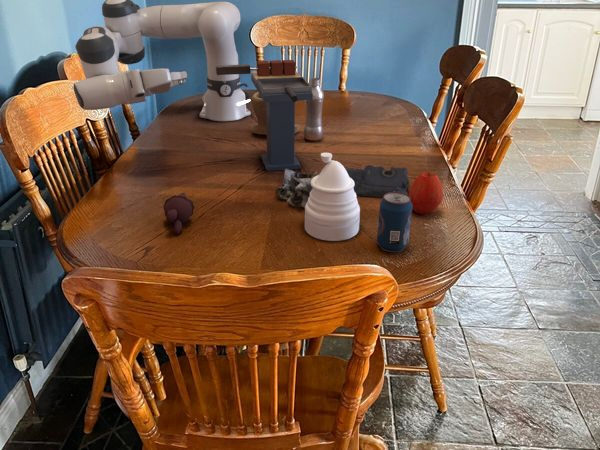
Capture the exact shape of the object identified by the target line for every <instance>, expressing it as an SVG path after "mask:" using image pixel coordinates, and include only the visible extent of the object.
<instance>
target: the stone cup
mask: <svg viewBox="0 0 600 450" xmlns="http://www.w3.org/2000/svg"><path fill="white" fill-rule="evenodd" d="M251 106H252V109H253V113H254V115H255V117H256V119H257V124H256V125H255V126H253V128H252V133H253V134H255V135H262V136H267V121H266V102H264V101H263V100H262V98H261V96H260V94H259V93H258V91H257V92H254V93H253V94H252V96H251ZM300 127H301V126H300V124H297V123H295V134H297V132H299V130H300Z"/></svg>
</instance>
